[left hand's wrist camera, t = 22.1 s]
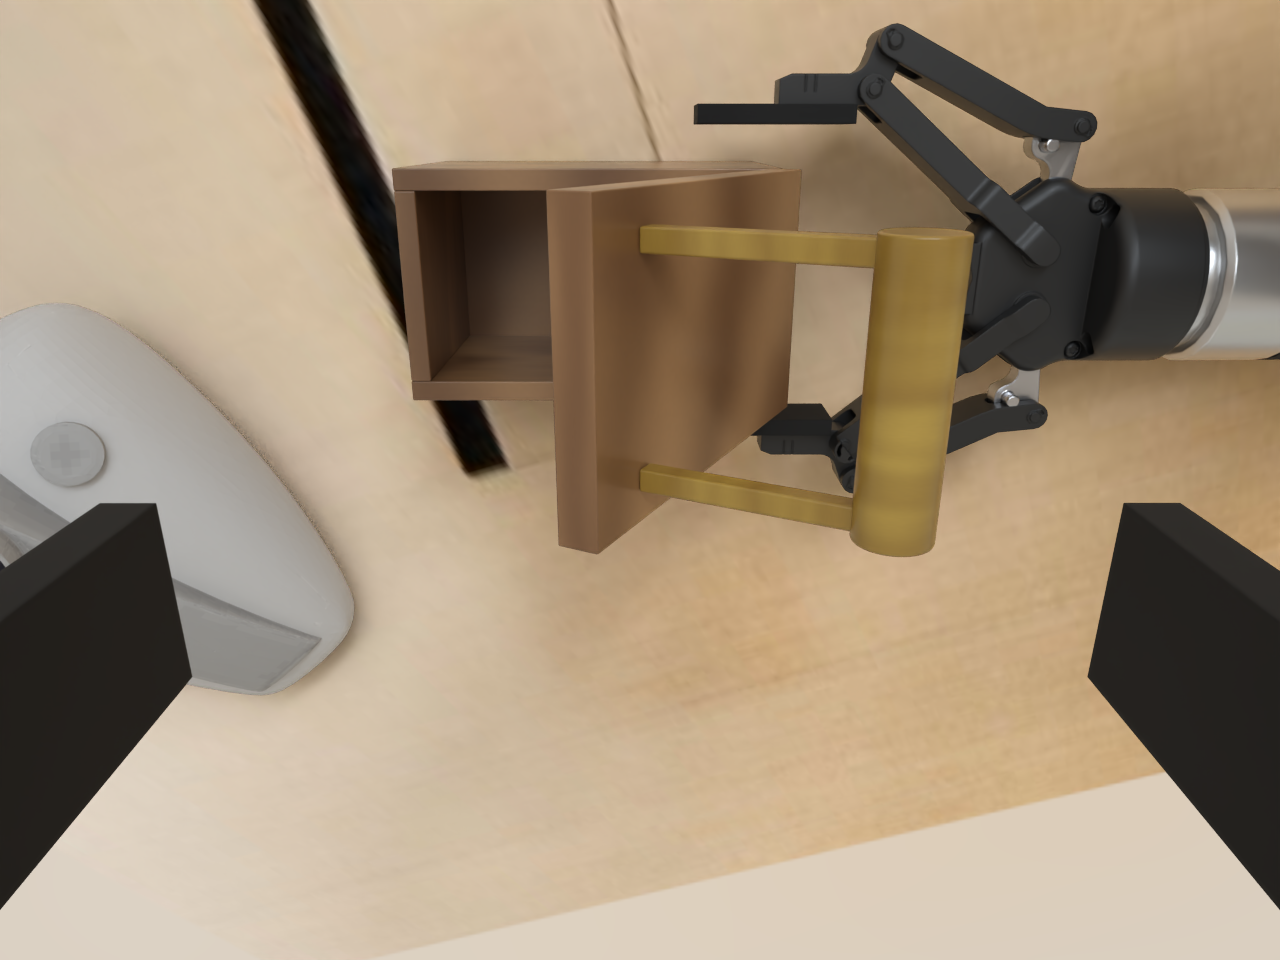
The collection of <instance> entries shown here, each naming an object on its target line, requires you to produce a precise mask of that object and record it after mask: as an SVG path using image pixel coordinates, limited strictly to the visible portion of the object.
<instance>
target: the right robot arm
mask: <svg viewBox="0 0 1280 960" xmlns="http://www.w3.org/2000/svg"><path fill="white" fill-rule="evenodd" d="M895 72H896V73H898V74H899V75H901V76H903V77H905V78H907V79H908V80H910V81H912V82H914V83H915V84H917V85H919V86H921V87H923V88H924V89H926V90H928V91H930V92H932V93H933V94H935V95H937V96H939V97H941V98H942V99H944V100H946V101H948V102H949V103H951V104H953V105H955V106H957V107H958V108H960V109H962V110H964V111H966V112H967V113H969V114H971V115H973V116H974V117H976V118H978V119H980V120H982V121H983V122H985V123H987V124H989V125H991V126H992V127H994V128H996V129H998V130H1000V131H1002V132H1004V133H1006V134H1009V135H1012V136H1015V137H1019V138H1024V143H1023V150H1024V153H1025V154H1026V156H1028V157H1029V158H1031V159H1033V160H1036V161H1037V162H1038V163H1039V165H1040V168H1041V176H1040V177H1039V178H1036V179H1034V180H1032V181H1031V182H1029V183H1028V184H1026V185H1025V186H1023V187H1022V188H1021V189H1019V190H1018V191H1016V192H1015V193H1013V194H1012V195H1009V194H1008V193H1007V192H1006V191H1005V190H1004V189H1002V188H1001V187H1000V186H999V185H998V184H996V183H995V182H993V181H992V180H990V179H989V178H988V177H987V176H986V175H985V174H984V173H983V172H981V171H980V170H979V169H978V168H977V167H976V166H975V165H974V164H973V163H972V162H971V161H970V160H969V159H968V158H967V157H966V156H965V155H964V154H963V153H962V152H961V151H960V150H959V149H958V148H957V147H956V146H955V145H954V144H953V143H952V142H951V141H950V140H949V139H948V138H947V137H946V136H945V135H944V134H943V133H942V132H941V131H940V130H939V129H938V128H937V127H936V126H935V125H934V124H933V123H932V122H931V121H930V120H929V119H928V118H927V117H926V116H925V115H924V114H923V113H922V112H921V111H920V110H919V109H918V108H917V107H916V106H915V105H914V104H913V103H912V102H910V101H909V100H908V99H907V98H906V97H905V96H904V95H903V94H902V93H901V92H900V91H899V90H898V89H897V88H896V87H895V86H894V85H893V84H892V83H891V80H892V78H893V75H894V73H895ZM857 109H858V110H859V111H860V112H861V113H862V114H863V115H864V116H865V117H866V118H867V119H868V120H869V121H870V122H871V123H872V124H873V125H874V126H875V127H876V128H877V129H878V130H880V131H881V132H882V133H883V134H884V135H885V136H886V137H887V138H888V139H889V140H890V141H891V142H892V143H893V144H894V145H895V146H896V147H897V148H898V149H899V150H900V151H901V152H902V153H903V154H904V155H905V156H906V157H908V158H909V159H910V160H911V161H912V162H913V163H914V164H915V165H916V166H917V167H918V168H919V169H920V170H921V171H922V172H923V173H924V174H925V175H926V176H927V177H928V178H929V179H930V180H931V181H932V182H933V183H934V184H936V185H937V186H938V187H939V188H940V189H941V190H942V191H943V192H944V193H945V194H946V195H947V196H948V197H949V198H950V201H951V202H952V203H953V204H954V205H955V206H956V207H957V208H958V209H959V210H960V211H961V212H962V213H963V214H964V215H965V216H966V217H967V218H968V219H969V220H970V221H971V222H972V223H971V224H970V225H969V226H968V227H967V229H966V230H965V231H968V232H971V233H973V234H974V244H973V251H972V259H971V267H970V275H969V282H968V290H967V298H966V306H965V313H964V321H963V329H962V337H961V344H960V352H959V360H958V368H957V375H956V378H958V377H959V376H961V375H962V374H965V373H969V372H972V371H974V370H976V369H978V368H979V367H980V366H982V365H983V364H985V363H986V362H987V361H989V360H990V359H991V358H993V357H994V356H996V355H998V356H999V357H1000V358H1002V359H1003V360H1004V361H1006V362H1007V363H1009V364H1011V370H1010V372H1009V374H1008V375H1007V376H1006V377H1005V378H1003V379H1001V380H999V381H996V382H994V383H992V384H991V385H990V386H989V389H988V393H984V394H979V395H975V396H972V397H969V398H966V399H964V400H961V401H959V402H957V403H954V404H953V406H952V414H951V422H950V429H949V437H948V445H947V453H946V454H949V453H951V452H953V451H956V450H958V449H960V448H962V447H965V446H967V445H969V444H972V443H974V442H976V441H979V440H981V439H983V438H986V437H988V436H990V435H993V434H995V433H997V432H1007V431H1017V430H1027V429H1035V428H1039V427H1040V426H1042V425H1043V424H1044V423H1045V421H1046V420H1047V416H1048V414H1047V410H1046V408H1045V407H1044V406H1042V405H1041V404H1039V402H1038V397H1039V380H1040V369H1041V368H1044V367H1045V366H1047V365H1049V364H1052V363H1054V362H1058V361H1063V360H1154V359H1157V358H1160V357H1163V358H1166V359H1168V360H1261V359H1267V360H1271V359H1280V189H1267V188H1197V189H1189V190H1186V191H1184V192H1181V191H1179V190H1177V189H1172V188H1084V187H1082V186H1079V185H1078V184H1076V183H1075V182H1073V181H1072V180H1071V179H1072V175H1073V172H1074V168H1075V164H1076V160H1077V156H1078V152H1079V148H1080V145H1081V142H1085V141H1087V140H1089V139H1090V138H1091V137H1092V136H1093V135H1094V133H1095V131H1096V129H1097V120H1096V117H1095V116H1094V115H1093V114H1092V113H1090V112H1087V111H1080V110H1071V109H1062V108H1054V107H1046V106H1045V105H1043V104H1041V103H1039V102H1038V101H1036V100H1034V99H1032V98H1031V97H1029V96H1027V95H1025V94H1023V93H1022V92H1020V91H1018V90H1016V89H1015V88H1013V87H1011V86H1009V85H1008V84H1006V83H1004V82H1002V81H1001V80H999V79H997V78H995V77H994V76H992V75H990V74H988V73H987V72H985V71H983V70H981V69H980V68H978V67H976V66H974V65H973V64H971V63H969V62H967V61H966V60H964V59H962V58H960V57H959V56H957V55H955V54H953V53H952V52H950V51H948V50H946V49H945V48H943V47H941V46H939V45H937V44H936V43H934V42H932V41H930V40H929V39H927V38H925V37H923V36H922V35H920V34H918V33H916V32H915V31H913V30H911V29H909V28H908V27H906V26H904V25H902V24H898V23H897V24H891V25H889V26H887V27H884V28H882V29H880V30H878V31H876V32H874V33H873V34H871V36H870V37H869V38H868V41H867V44H866V51H865V53H864V56H863V58H862V61H861V63H860V65H859V66H858V68H857V69H856V70H855V71H854V72H852V73H850V74H790V75H788V76H785V77H783V78H781V79H778V80H776V81H775V93H774V104H696V105H695V106H694V124H856V119H857ZM861 404H862V395H861V396H860V397H858V398H857V399H856V400H854V401H853V402H852V403H850V404H849V405H848V406H846V407H845V408H844V409H842V410H841V411H839V412H838V413H837V414H835V415H834V416H833V417H830V416H829V414H828V413H827V411H826V410H825V408H824V407H823V405H822V404H787V407H786V408H785V409H784V410H782V411H781V412H780V413H778V414H777V415H776V416H775V417H773V418H772V419H771V420H769V421H768V422H767V423H766V424H764V425H763V426H762V427H760V428H759V429H758V430H757V431H755V432H754V433H753V434H752V435H750V436H757V442H758V444H759V447H760V450H761V451H764V452H766V453H769V454H821V455H826V456H828V457H830V459H831V463H832V468H833V471H834V472H835V474H836V476H837V478H838V479H839V481H840V483H841V485H842V486H843V488H844V489H845V490H846V491H847V492H849V493H853V492H854V481H855V470H856V459H857V448H858V437H859V426H860V415H861Z"/></svg>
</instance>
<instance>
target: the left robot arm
mask: <svg viewBox="0 0 1280 960" xmlns="http://www.w3.org/2000/svg"><path fill="white" fill-rule="evenodd" d="M191 678H192V672H191V668H190V663H189V658H188V653H187V648H186V644H185V639H184V634H183V629H182V624H181V620H180V615H179V610H178V605H177V600H176V596H175V591H174V586H173V581H172V576H171V572H170V567H169V562H168V557H167V552H166V548H165V543H164V538H163V533H162V528H161V524H160V519H159V514H158V509H157V504H156V503H99V504H98V505H96V506H95V507H93V508H92V509H90V510H89V511H87V512H86V513H84V514H83V515H82V516H80V517H79V518H77V519H76V520H74V521H73V522H71V523H70V524H68V525H67V526H65V527H64V528H62V529H61V530H60V531H58V532H57V533H55V534H54V535H52V536H51V537H49V538H48V539H46V540H45V541H43V542H42V543H40V544H39V545H38V546H36V547H35V548H33V549H32V550H30V551H29V552H27V553H26V554H24V555H23V556H21V557H20V558H18V559H17V560H16V561H14V562H13V563H11V564H10V565H8V566H7V567H5V568H4V569H2V570H1V571H0V909H1V908H2V907H3V906H4V905H5V903H6V902H7V901H8V900H9V898H10V897H11V896H12V895H13V894H14V892H15V891H16V890H17V889H18V888H19V886H20V885H21V884H22V883H23V882H24V880H25V879H26V878H27V877H28V875H29V874H30V873H31V872H32V871H33V869H34V868H35V867H36V866H37V865H38V863H39V862H40V861H41V860H42V859H43V857H44V856H45V855H46V854H47V852H48V851H49V850H50V849H51V848H52V846H53V845H54V844H55V843H56V842H57V840H58V839H59V838H60V837H61V836H62V834H63V833H64V832H65V831H66V829H67V828H68V827H69V826H70V825H71V823H72V822H73V821H74V820H75V819H76V817H77V816H78V815H79V814H80V813H81V811H82V810H83V809H84V808H85V806H86V805H87V804H88V803H89V802H90V800H91V799H92V798H93V797H94V796H95V794H96V793H97V792H98V791H99V789H100V788H101V787H102V786H103V785H104V783H105V782H106V781H107V780H108V779H109V777H110V776H111V775H112V774H113V773H114V771H115V770H116V769H117V768H118V766H119V765H120V764H121V763H122V762H123V760H124V759H125V758H126V757H127V756H128V754H129V753H130V752H131V751H132V750H133V748H134V747H135V746H136V745H137V743H138V742H139V741H140V740H141V739H142V737H143V736H144V735H145V734H146V733H147V731H148V730H149V729H150V728H151V726H152V725H153V724H154V723H155V722H156V720H157V719H158V718H159V717H160V716H161V714H162V713H163V712H164V711H165V710H166V708H167V707H168V706H169V705H170V703H171V702H172V701H173V700H174V699H175V697H176V696H177V695H178V694H179V693H180V691H181V690H182V689H183V688H184V686H185V685H186V684H187V683H188V682H189V680H190V679H191ZM1088 678H1089V679H1090V680H1091V682H1092V683H1093V684H1094V685H1095V686H1096V688H1097V689H1098V690H1099V691H1100V693H1101V694H1102V695H1103V696H1104V697H1105V699H1106V700H1107V701H1108V702H1109V703H1110V705H1111V706H1112V707H1113V708H1114V710H1115V711H1116V712H1117V713H1118V714H1119V716H1120V717H1121V718H1122V719H1123V720H1124V722H1125V723H1126V724H1127V725H1128V726H1129V728H1130V729H1131V730H1132V731H1133V733H1134V734H1135V735H1136V736H1137V737H1138V739H1139V740H1140V741H1141V742H1142V743H1143V745H1144V746H1145V747H1146V748H1147V750H1148V751H1149V752H1150V753H1151V754H1152V756H1153V757H1154V758H1155V759H1156V760H1157V762H1158V763H1159V764H1160V765H1161V766H1162V768H1163V769H1164V770H1165V771H1166V773H1167V774H1168V775H1169V776H1170V777H1171V779H1172V780H1173V781H1174V782H1175V783H1176V785H1177V786H1178V787H1179V788H1180V789H1181V791H1182V792H1183V793H1184V794H1185V796H1186V797H1187V798H1188V799H1189V800H1190V802H1191V803H1192V804H1193V805H1194V806H1195V808H1196V809H1197V810H1198V811H1199V813H1200V814H1201V815H1202V816H1203V817H1204V819H1205V820H1206V821H1207V822H1208V823H1209V825H1210V826H1211V827H1212V828H1213V829H1214V831H1215V832H1216V833H1217V834H1218V836H1219V837H1220V838H1221V839H1222V840H1223V842H1224V843H1225V844H1226V845H1227V846H1228V848H1229V849H1230V850H1231V851H1232V852H1233V854H1234V855H1235V856H1236V857H1237V859H1238V860H1239V861H1240V862H1241V863H1242V865H1243V866H1244V867H1245V868H1246V869H1247V871H1248V872H1249V873H1250V874H1251V876H1252V877H1253V878H1254V879H1255V880H1256V882H1257V883H1258V884H1259V885H1260V886H1261V888H1262V889H1263V890H1264V891H1265V892H1266V894H1267V895H1268V896H1269V897H1270V899H1271V900H1272V901H1273V902H1274V903H1275V905H1276V906H1277V907H1278V908H1279V909H1280V571H1279V570H1278V569H1276V568H1275V567H1273V566H1272V565H1270V564H1269V563H1267V562H1266V561H1264V560H1263V559H1262V558H1260V557H1259V556H1257V555H1256V554H1254V553H1253V552H1251V551H1250V550H1248V549H1247V548H1245V547H1244V546H1242V545H1241V544H1240V543H1238V542H1237V541H1235V540H1234V539H1232V538H1231V537H1229V536H1228V535H1226V534H1225V533H1223V532H1222V531H1220V530H1219V529H1218V528H1216V527H1215V526H1213V525H1212V524H1210V523H1209V522H1207V521H1206V520H1204V519H1203V518H1201V517H1200V516H1198V515H1197V514H1196V513H1194V512H1193V511H1191V510H1190V509H1188V508H1187V507H1185V506H1184V505H1182V504H1181V503H1124V504H1123V509H1122V514H1121V519H1120V523H1119V528H1118V533H1117V538H1116V543H1115V548H1114V552H1113V557H1112V562H1111V567H1110V572H1109V576H1108V581H1107V586H1106V591H1105V596H1104V600H1103V605H1102V610H1101V615H1100V620H1099V624H1098V629H1097V634H1096V639H1095V644H1094V648H1093V653H1092V658H1091V663H1090V668H1089V672H1088Z"/></svg>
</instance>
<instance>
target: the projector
mask: <svg viewBox="0 0 1280 960" xmlns="http://www.w3.org/2000/svg"><path fill="white" fill-rule="evenodd" d="M99 503H156V504H157V509H158V514H159V519H160V524H161V528H162V533H163V538H164V543H165V548H166V552H167V557H168V562H169V567H170V572H171V576H172V581H173V586H174V591H175V596H176V600H177V605H178V610H179V615H180V620H181V624H182V629H183V634H184V639H185V644H186V648H187V653H188V658H189V663H190V668H191V672H192V678H191V679H190V680H189V682H188V683H187V685H192V686H197V687H203V688H208V689H214V690H220V691H226V692H233V693H240V694H248V695H268V694H273V693H277V692H279V691H281V690H283V689H285V688H287V687H289V686H291V685H292V684H294V683H295V682H297V681H298V680H300V679H301V678H302V677H304V676H305V675H306V674H308V673H309V672H310V671H311V670H312V669H314V668H315V667H316V666H317V665H318V664H319V663H321V662H322V661H323V660H324V659H325V658H326V657H327V656H328V655H329V654H330V653H331V652H333V651H334V649H335V648H336V647H337V646H338V645H339V644H340V643H341V642H342V640H343V639H344V638H345V636H346V635H347V633H348V631H349V629H350V627H351V624H352V621H353V617H354V599H353V596H352V593H351V590H350V588H349V586H348V584H347V582H346V580H345V578H344V575H343V574H342V572H341V570H340V568H339V566H338V565H337V563H336V561H335V559H334V558H333V556H332V554H331V552H330V551H329V549H328V548H327V546H326V545H325V543H324V541H323V540H322V538H321V537H320V535H319V534H318V532H317V530H316V529H315V527H314V526H313V525H312V523H311V522H310V520H309V519H308V517H307V516H306V514H305V513H304V512H303V510H302V509H301V507H300V506H299V504H298V503H297V502H296V500H295V499H294V498H293V496H292V495H291V494H290V492H289V491H288V490H287V488H286V487H285V486H284V484H283V483H282V482H281V481H280V479H279V478H278V477H277V476H276V474H275V473H274V472H273V471H272V469H271V468H270V467H269V466H268V464H267V463H266V462H265V461H264V460H263V459H262V457H261V456H260V455H259V454H258V453H257V452H256V451H255V449H254V448H253V447H252V446H251V445H250V444H249V443H248V442H247V440H246V439H245V438H244V437H243V436H242V435H241V434H240V433H239V432H238V431H237V429H236V428H235V427H234V426H233V425H232V424H231V423H230V422H229V421H228V420H227V419H226V418H225V417H224V416H223V415H222V414H221V413H220V412H219V410H217V409H216V408H215V407H214V406H213V405H212V404H211V403H210V402H209V401H208V400H207V399H206V398H205V397H204V396H203V395H202V394H201V393H200V392H199V391H198V390H197V389H196V388H195V387H194V386H193V385H192V384H191V383H190V382H189V381H188V380H187V379H186V378H184V377H183V376H182V375H181V374H180V373H179V372H178V371H177V370H176V369H175V368H174V367H173V366H171V365H170V364H169V363H168V362H167V361H166V360H164V359H163V358H162V357H161V356H160V355H159V354H158V353H156V352H155V351H154V350H153V349H152V348H150V347H149V346H148V345H147V344H145V343H144V342H143V341H141V340H140V339H139V338H138V337H136V336H135V335H134V334H132V333H131V332H129V331H128V330H126V329H125V328H123V327H122V326H120V325H119V324H117V323H116V322H114V321H113V320H111V319H109V318H107V317H105V316H103V315H101V314H99V313H98V312H95V311H92V310H90V309H87V308H84V307H81V306H77V305H73V304H65V303H49V304H41V305H36V306H33V307H29V308H26V309H23V310H20V311H17V312H15V313H13V314H10V315H8V316H5V317H3V318H1V319H0V571H1V570H2V569H4V568H5V567H7V566H8V565H10V564H11V563H13V562H14V561H16V560H17V559H18V558H20V557H21V556H23V555H24V554H26V553H27V552H29V551H30V550H32V549H33V548H35V547H36V546H38V545H39V544H40V543H42V542H43V541H45V540H46V539H48V538H49V537H51V536H52V535H54V534H55V533H57V532H58V531H60V530H61V529H62V528H64V527H65V526H67V525H68V524H70V523H71V522H73V521H74V520H76V519H77V518H79V517H80V516H82V515H83V514H84V513H86V512H87V511H89V510H90V509H92V508H93V507H95V506H96V505H98V504H99Z"/></svg>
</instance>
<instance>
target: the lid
mask: <svg viewBox="0 0 1280 960" xmlns="http://www.w3.org/2000/svg"><path fill="white" fill-rule="evenodd" d="M800 188H801V170H800V169H765V170H754V171H744V172H733V173H722V174H711V175H701V176H690V177H679V178H668V179H658V180H647V181H636V182H625V183H614V184H604V185H593V186H582V187H571V188H561V189H550V190H547V191H546V198H547V226H548V254H549V283H550V311H551V339H552V368H553V396H554V424H555V452H556V481H557V509H558V537H559V546H563V547H567V548H572V549H576V550H580V551H585V552H589V553H593V554H599V553H600V552H601V551H603V550H604V549H605V548H607V547H608V546H609V545H610V544H612V543H613V542H614V541H616V540H617V539H618V538H619V537H621V536H622V535H623V534H625V533H626V532H627V531H628V530H630V529H631V528H632V527H633V526H635V525H636V524H637V523H639V522H640V521H641V520H642V519H644V518H645V517H646V516H648V515H649V514H650V513H651V512H653V511H654V510H655V509H657V508H658V507H659V506H660V505H662V504H663V503H664V502H666V501H667V500H668V499H669V498H671V497H673V498H678V499H683V500H688V501H694V502H699V503H704V504H709V505H715V506H720V507H725V508H730V509H736V510H741V511H746V512H751V513H757V514H762V515H767V516H772V517H778V518H783V519H788V520H793V521H799V522H804V523H809V524H815V525H820V526H825V527H830V528H836V529H841V530H846V531H850V538H851V540H852V541H853V542H854V543H855V544H856V545H857V546H859V547H860V548H862V549H864V550H867V551H869V552H872V553H876V554H880V555H885V556H892V557H912V556H918V555H922V554H925V553H927V552H929V551H930V550H931V549H932V548H933V547H934V544H935V538H936V530H937V522H938V515H939V507H940V499H941V491H942V484H943V476H944V468H945V460H946V453H947V445H948V437H949V429H950V422H951V414H952V406H953V399H954V391H955V383H956V375H957V368H958V360H959V352H960V344H961V337H962V329H963V321H964V313H965V306H966V298H967V290H968V282H969V275H970V267H971V259H972V251H973V244H974V234H973V233H971V232H968V231H963V230H956V229H944V228H919V227H907V228H888V229H882V230H880V231H878V233H877V235H868V234H847V233H826V232H805V231H798V220H799V204H800ZM796 263H797V264H813V265H829V266H845V267H861V268H874V273H873V284H872V295H871V306H870V317H869V328H868V339H867V349H866V360H865V371H864V382H863V393H862V404H861V415H860V426H859V437H858V448H857V459H856V470H855V481H854V492H853V498H848V497H842V496H836V495H830V494H825V493H819V492H813V491H807V490H802V489H796V488H790V487H784V486H779V485H773V484H767V483H761V482H756V481H750V480H744V479H738V478H733V477H727V476H721V475H715V474H710V473H704V471H705V470H707V469H708V468H709V467H710V466H712V465H713V464H714V463H716V462H717V461H718V460H719V459H721V458H722V457H723V456H725V455H726V454H727V453H728V452H730V451H731V450H732V449H734V448H735V447H736V446H737V445H739V444H740V443H741V442H743V441H744V440H745V439H746V438H748V437H749V436H750V435H752V434H753V433H754V432H755V431H757V430H758V429H759V428H760V427H762V426H763V425H764V424H766V423H767V422H768V421H769V420H771V419H772V418H773V417H775V416H776V415H777V414H778V413H780V412H781V411H782V410H784V409H785V408H786V407H787V401H788V385H789V368H790V352H791V335H792V319H793V302H794V286H795V270H796Z"/></svg>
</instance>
